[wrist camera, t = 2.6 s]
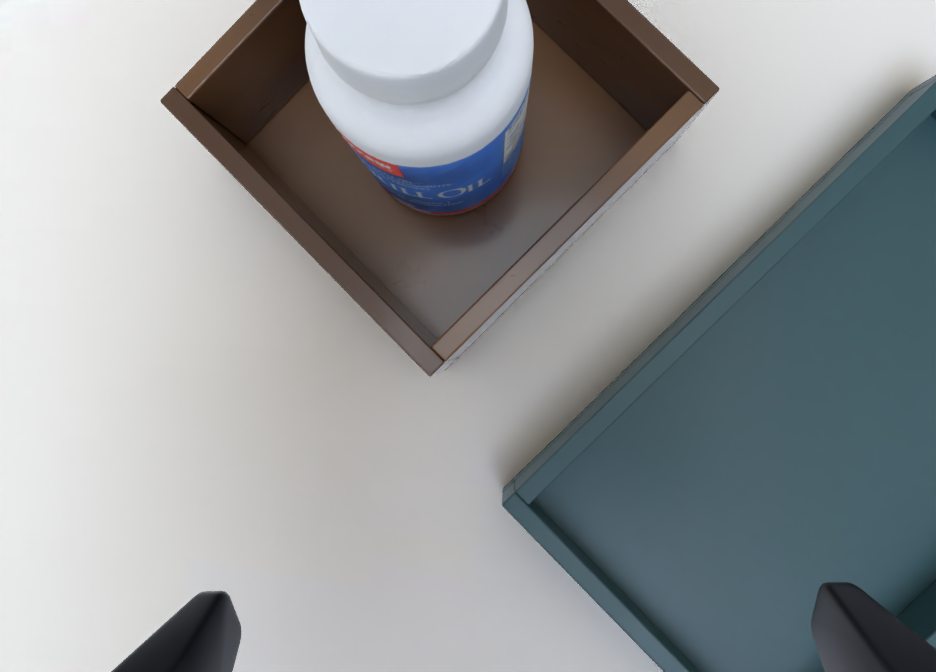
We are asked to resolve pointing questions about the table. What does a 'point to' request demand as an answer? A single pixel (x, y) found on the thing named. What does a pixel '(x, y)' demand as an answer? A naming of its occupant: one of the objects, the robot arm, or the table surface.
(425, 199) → the pill bottle
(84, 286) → the table surface
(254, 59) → the open box
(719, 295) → the tray
